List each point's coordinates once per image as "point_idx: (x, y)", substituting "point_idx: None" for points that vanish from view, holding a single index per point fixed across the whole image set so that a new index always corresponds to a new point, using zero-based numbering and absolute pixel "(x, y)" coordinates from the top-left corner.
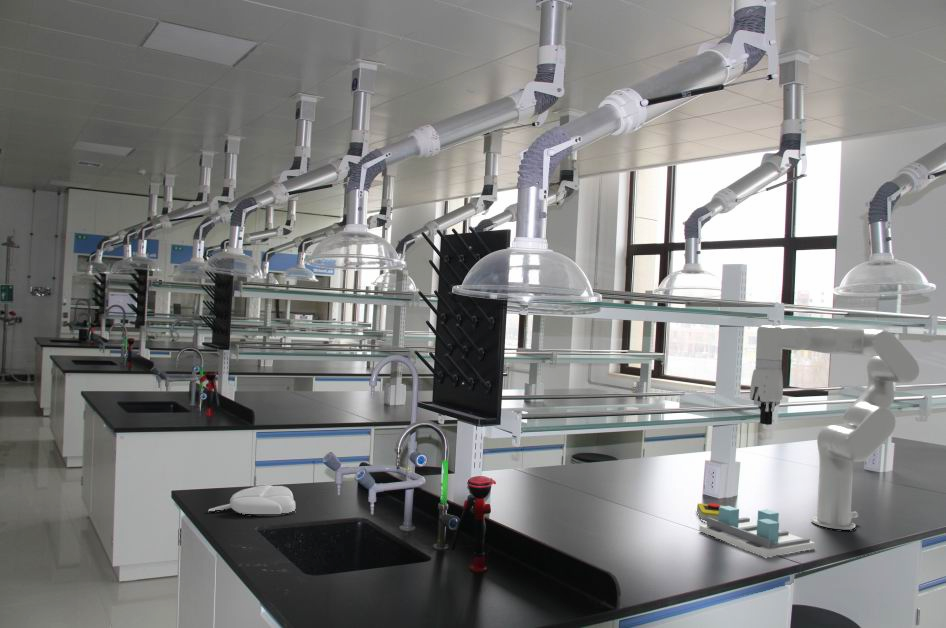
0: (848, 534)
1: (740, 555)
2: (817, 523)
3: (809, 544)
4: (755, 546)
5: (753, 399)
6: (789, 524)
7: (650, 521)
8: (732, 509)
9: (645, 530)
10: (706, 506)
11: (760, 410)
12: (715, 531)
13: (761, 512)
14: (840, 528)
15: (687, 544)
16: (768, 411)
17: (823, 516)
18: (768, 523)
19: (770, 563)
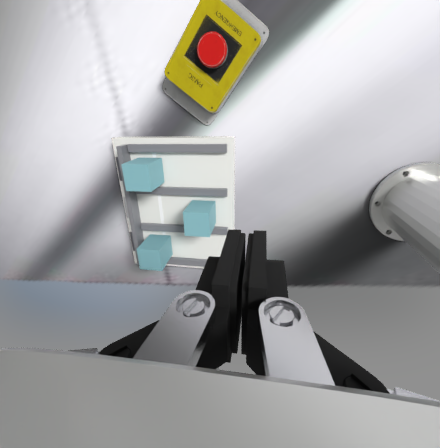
0: (371, 245)
1: (114, 238)
2: (373, 196)
3: None
4: (132, 247)
5: (26, 362)
6: (329, 164)
7: (59, 41)
8: (137, 188)
9: (28, 92)
10: (208, 28)
11: (184, 304)
12: (118, 175)
13: (183, 218)
14: (381, 232)
15: (66, 178)
16: (246, 342)
17: (389, 207)
18: (141, 266)
19: (132, 269)
